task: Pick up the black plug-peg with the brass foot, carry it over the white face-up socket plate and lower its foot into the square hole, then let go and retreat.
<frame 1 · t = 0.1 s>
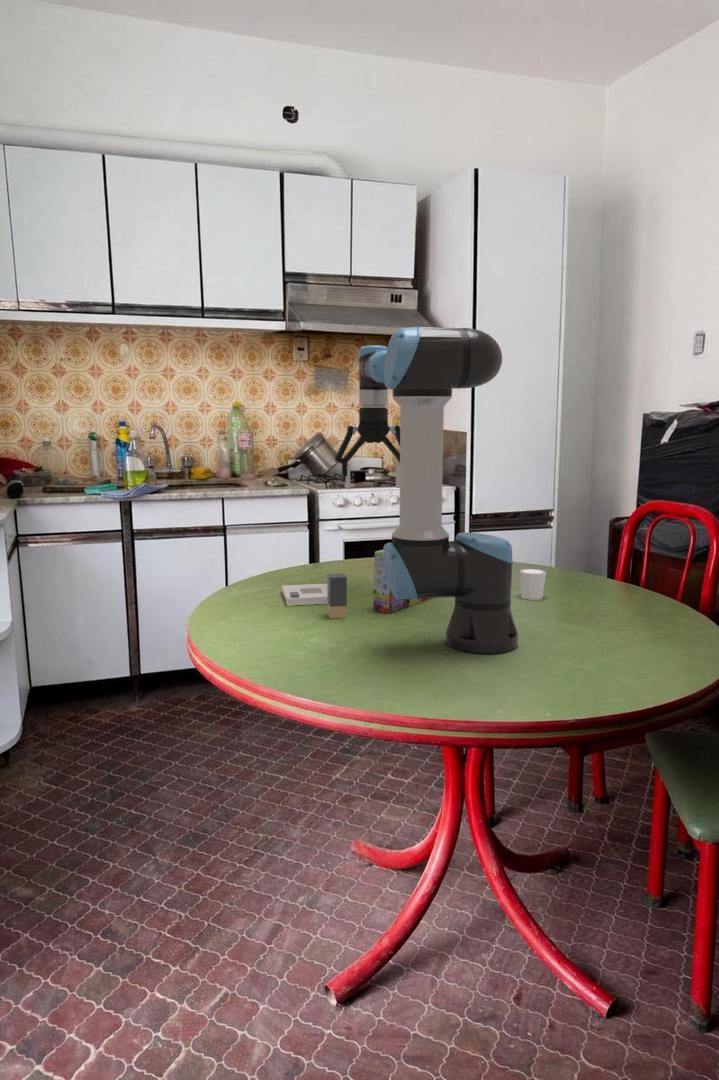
hand: (373, 488, 201), 28 cm above the table, fingers open, 13 cm apart
white cup: (531, 597, 199), on the table
socket plate: (311, 598, 198), on the table
snack box: (405, 604, 193), on the table
plug: (337, 616, 181), on the table
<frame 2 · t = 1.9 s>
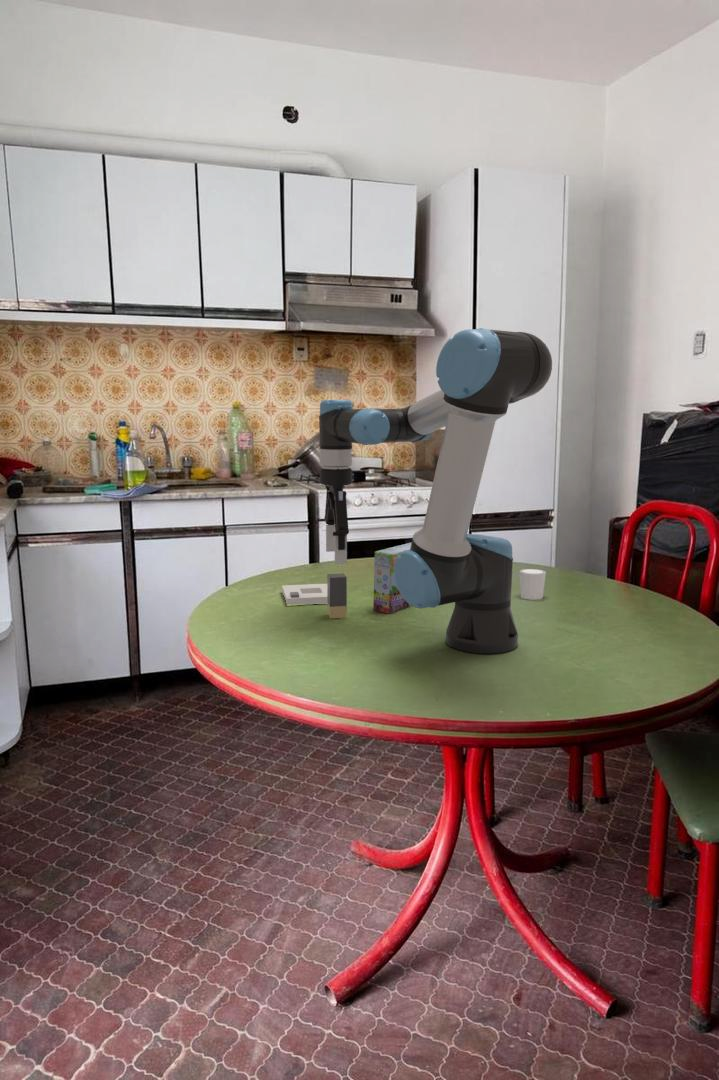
hand: (336, 557, 179), 14 cm above the table, fingers open, 13 cm apart
nothing on the table moved.
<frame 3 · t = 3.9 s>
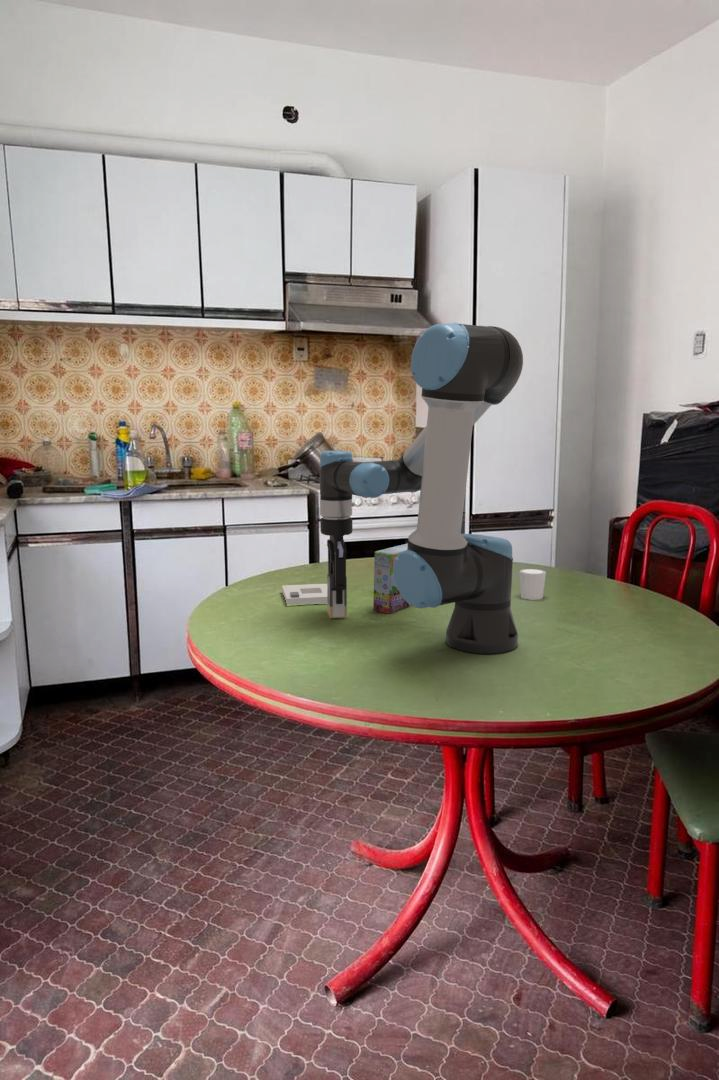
hand: (337, 613, 181), 1 cm above the table, fingers closed on plug, 4 cm apart
plug: (337, 616, 181), on the table, touching gripper
everything else where it was.
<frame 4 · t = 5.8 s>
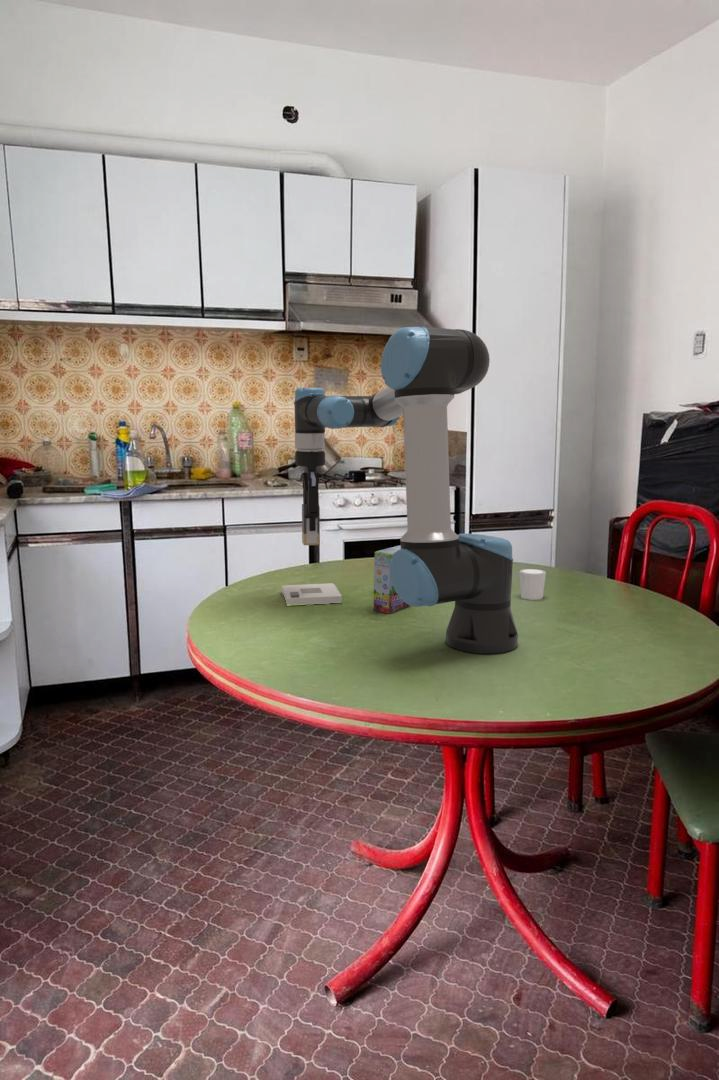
hand: (310, 541, 195), 15 cm above the table, fingers closed on plug, 4 cm apart
plug: (310, 543, 195), point 15 cm above the table, touching gripper
everything else where it was.
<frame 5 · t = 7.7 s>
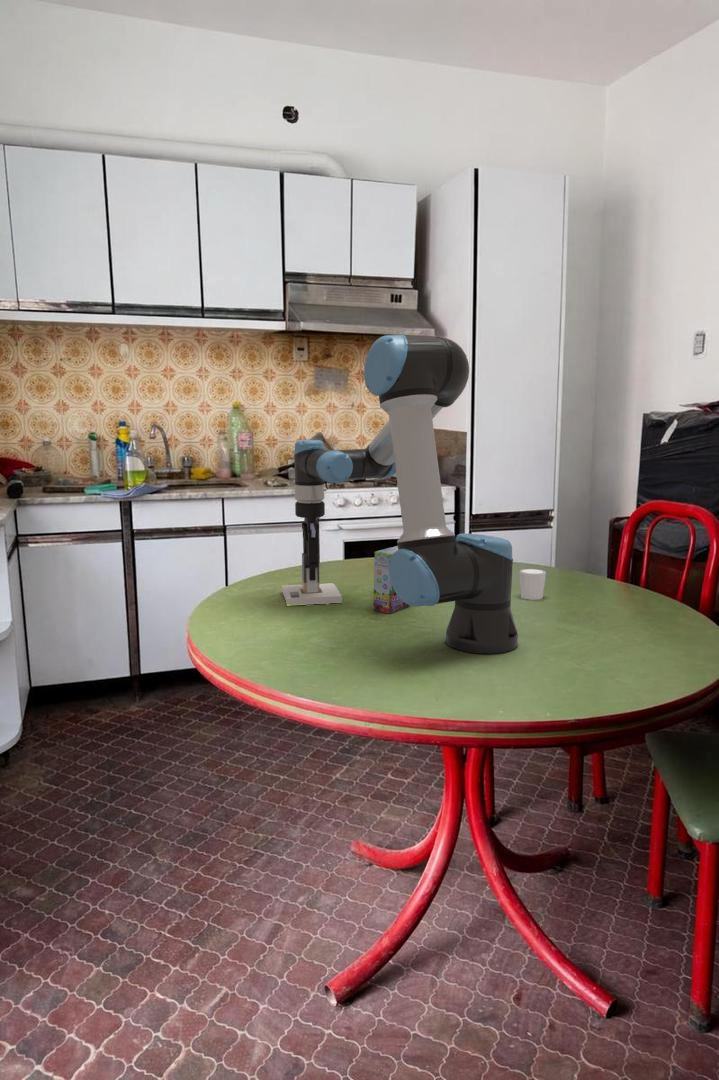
hand: (310, 589, 198), 2 cm above the table, fingers closed on plug, 4 cm apart
plug: (310, 592, 198), point 2 cm above the table, touching gripper
everything else where it was.
when the fingers open (2 cm above the table, at t = 8.5 s): plug stays where it is, resting in socket plate.
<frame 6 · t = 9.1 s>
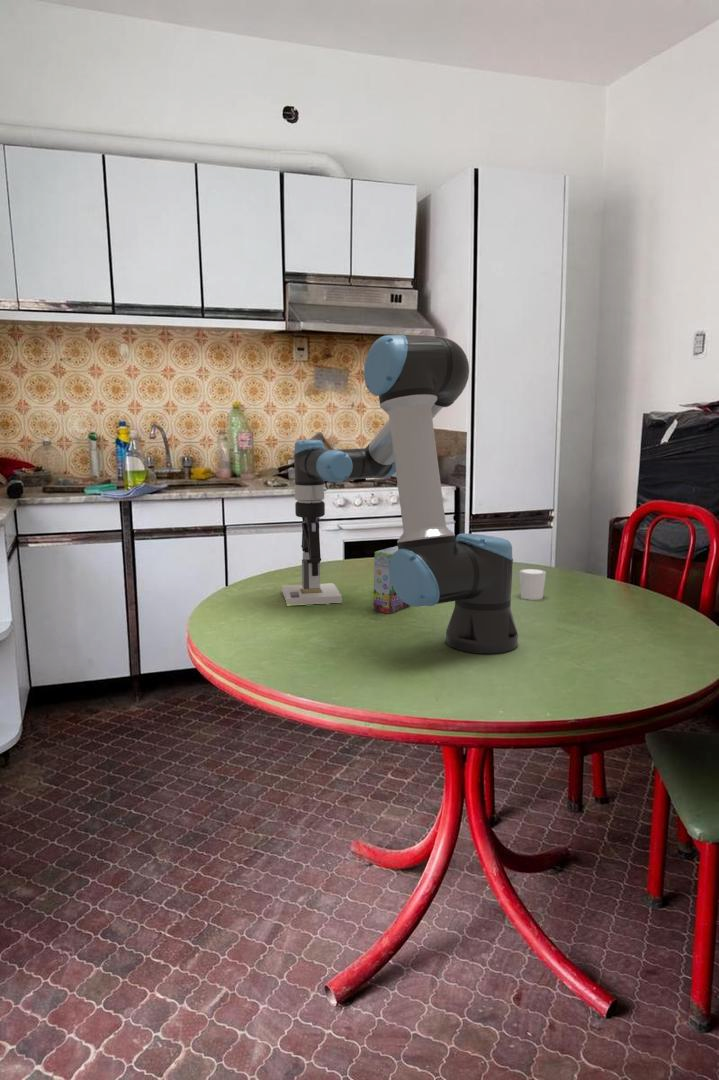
hand: (311, 582, 197), 4 cm above the table, fingers open, 13 cm apart
plug: (310, 598, 198), resting in socket plate
everything else where it was.
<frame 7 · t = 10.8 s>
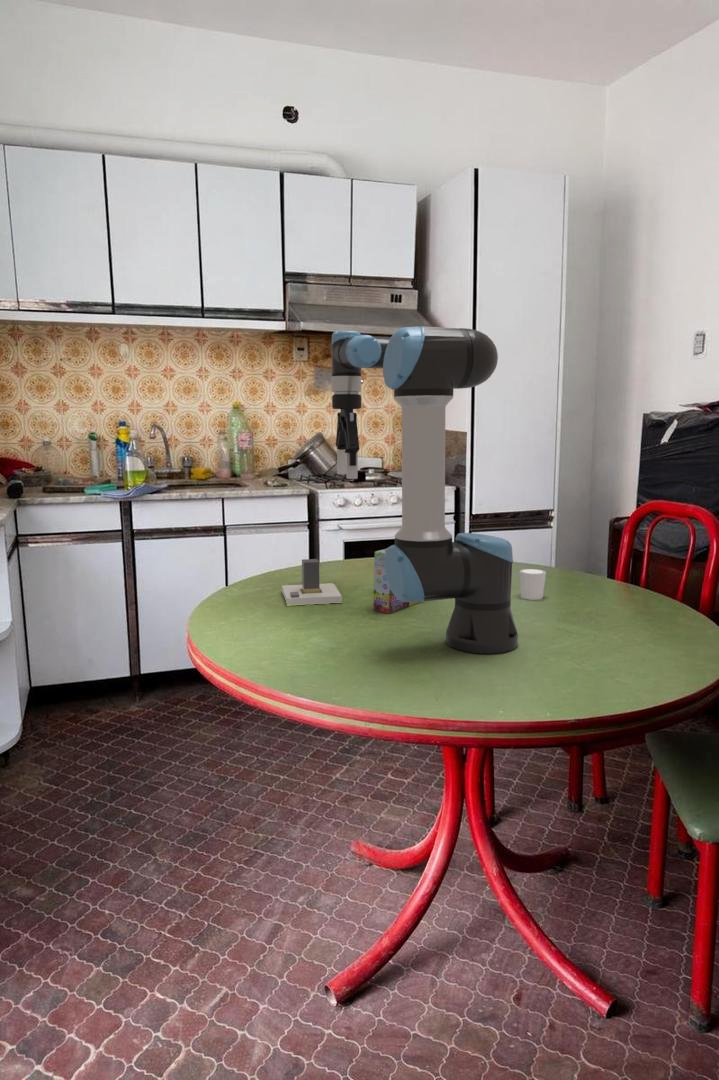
hand: (347, 476, 198), 31 cm above the table, fingers open, 13 cm apart
nothing on the table moved.
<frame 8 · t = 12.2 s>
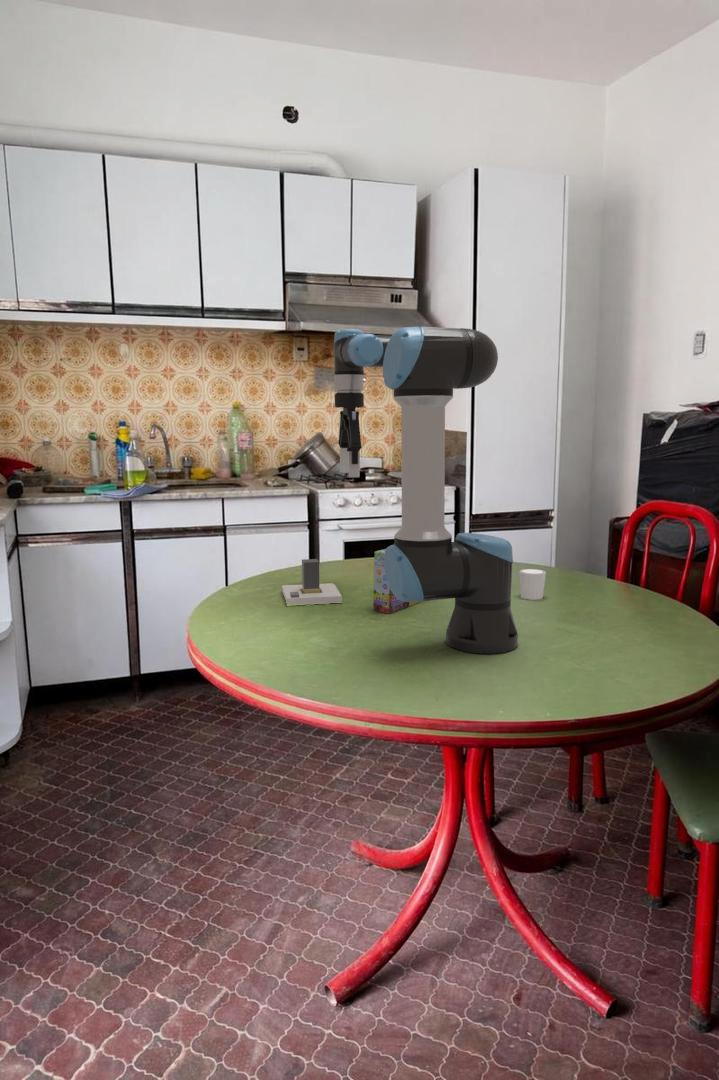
hand: (349, 474, 198), 32 cm above the table, fingers open, 13 cm apart
nothing on the table moved.
at the end: plug 0.1 cm off-centre on the socket plate, point 0.0 cm above the socket plate's base; plug tilted 0°; the gripper is holding nothing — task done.
